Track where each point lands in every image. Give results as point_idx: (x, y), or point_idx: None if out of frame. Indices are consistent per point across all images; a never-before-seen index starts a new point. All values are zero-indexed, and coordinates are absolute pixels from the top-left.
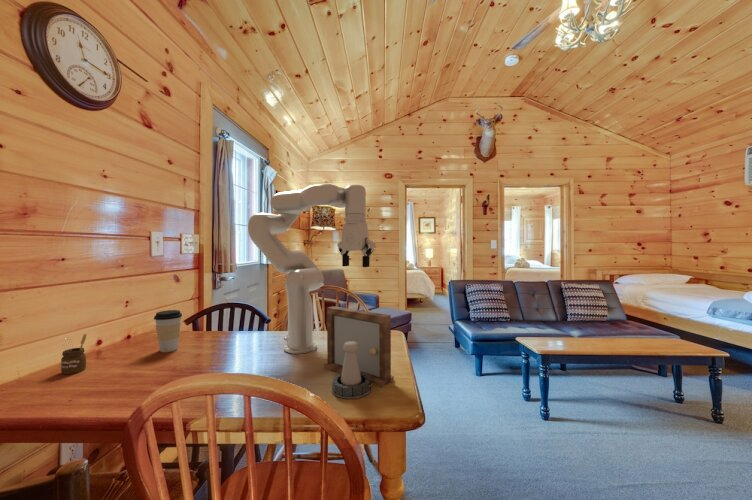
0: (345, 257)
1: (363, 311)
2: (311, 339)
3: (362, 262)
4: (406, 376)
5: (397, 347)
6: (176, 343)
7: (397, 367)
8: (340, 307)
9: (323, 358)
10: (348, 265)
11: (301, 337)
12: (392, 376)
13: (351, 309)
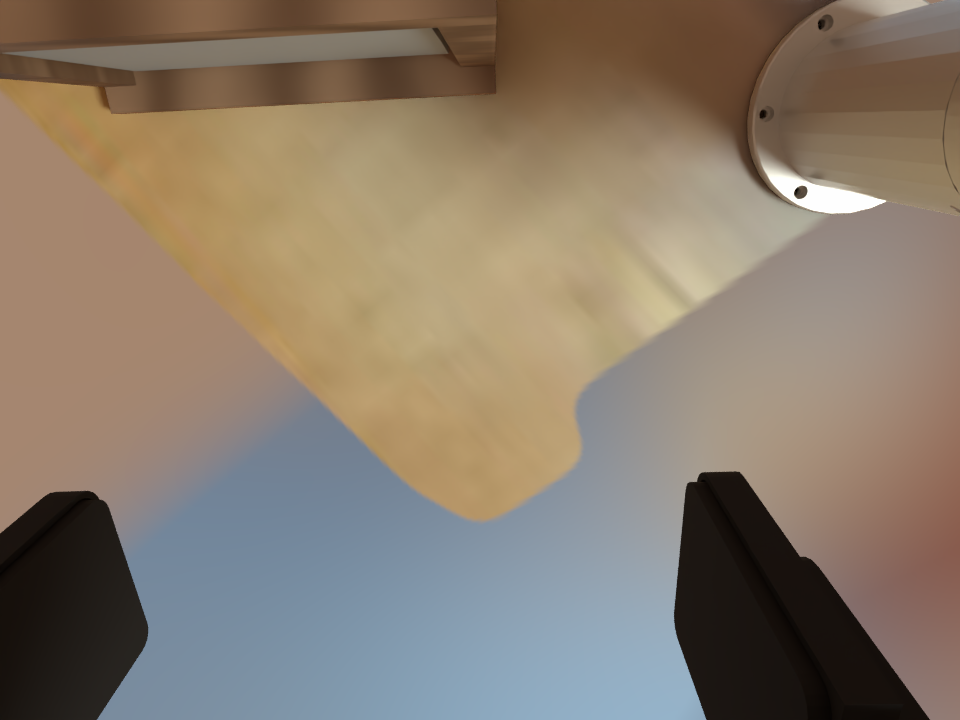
0: (772, 709)
1: (51, 19)
2: (803, 149)
3: (27, 560)
4: (116, 189)
5: (407, 460)
6: None
7: (221, 250)
8: (381, 14)
9: (603, 88)
10: (675, 607)
11: (842, 57)
12: (111, 105)
13: (213, 12)
